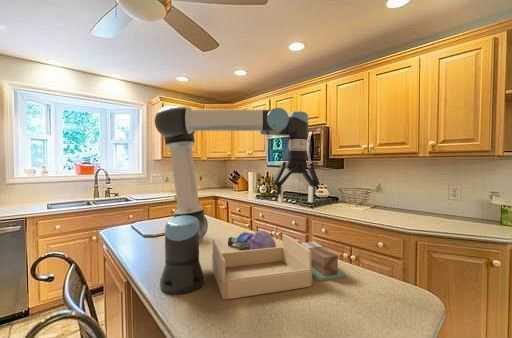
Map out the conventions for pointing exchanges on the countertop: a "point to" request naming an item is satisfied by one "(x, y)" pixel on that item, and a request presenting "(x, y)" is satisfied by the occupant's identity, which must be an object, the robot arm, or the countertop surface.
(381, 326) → the countertop surface
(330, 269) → the box
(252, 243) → the toy
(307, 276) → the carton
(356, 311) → the countertop surface
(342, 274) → the teal board
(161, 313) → the countertop surface
